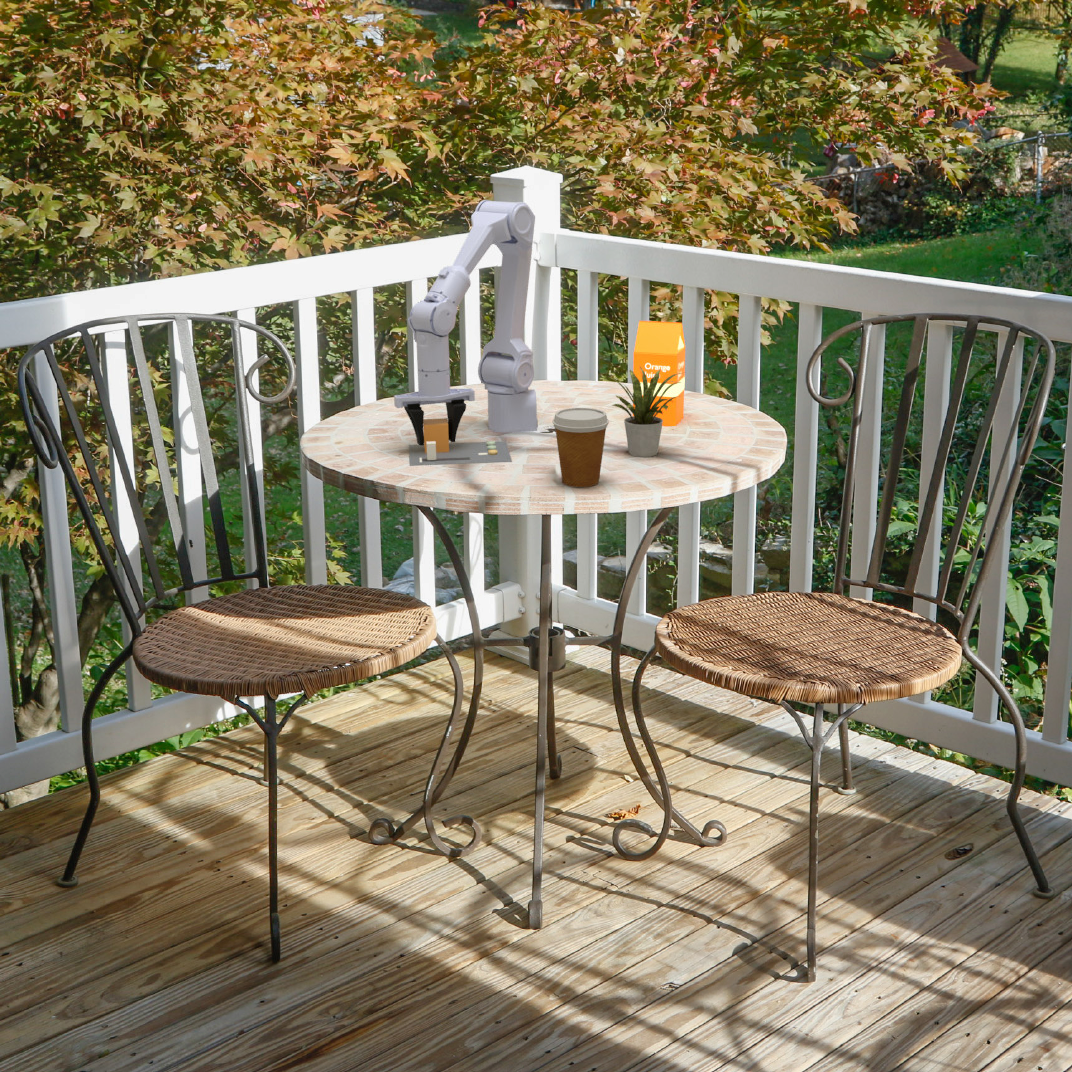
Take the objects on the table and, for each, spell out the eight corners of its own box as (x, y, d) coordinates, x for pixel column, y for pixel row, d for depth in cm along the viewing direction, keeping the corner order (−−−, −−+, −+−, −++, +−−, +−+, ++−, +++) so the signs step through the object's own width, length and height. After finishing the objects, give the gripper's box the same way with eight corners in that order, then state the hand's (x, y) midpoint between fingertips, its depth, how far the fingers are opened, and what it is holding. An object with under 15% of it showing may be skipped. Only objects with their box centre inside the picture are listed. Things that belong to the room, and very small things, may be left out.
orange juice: (675, 427, 258) (678, 326, 251) (632, 424, 261) (633, 324, 254) (683, 417, 265) (686, 319, 258) (641, 415, 268) (643, 317, 261)
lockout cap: (448, 445, 241) (447, 418, 239) (449, 452, 237) (448, 424, 235) (424, 446, 240) (423, 419, 239) (424, 453, 236) (423, 425, 235)
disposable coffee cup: (612, 489, 219) (612, 419, 215) (555, 491, 219) (555, 421, 215) (604, 473, 228) (605, 406, 224) (550, 475, 228) (549, 407, 224)
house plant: (704, 453, 240) (707, 365, 234) (656, 469, 230) (657, 377, 225) (644, 439, 249) (646, 354, 244) (596, 454, 240) (596, 366, 235)
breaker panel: (506, 448, 244) (505, 438, 243) (512, 469, 231) (511, 458, 230) (409, 452, 242) (408, 441, 242) (409, 473, 229) (409, 462, 229)
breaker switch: (436, 457, 233) (435, 441, 232) (436, 460, 231) (435, 443, 230) (427, 457, 233) (426, 441, 232) (427, 460, 231) (426, 443, 230)
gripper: (465, 361, 240) (467, 433, 244) (388, 367, 235) (392, 441, 239) (477, 368, 233) (479, 442, 238) (398, 375, 229) (402, 450, 233)
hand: (436, 442), depth 238 cm, fingers closed on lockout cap, 5 cm apart
